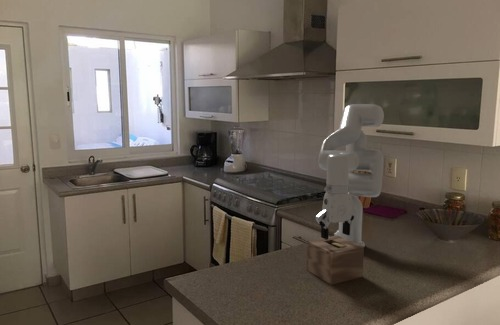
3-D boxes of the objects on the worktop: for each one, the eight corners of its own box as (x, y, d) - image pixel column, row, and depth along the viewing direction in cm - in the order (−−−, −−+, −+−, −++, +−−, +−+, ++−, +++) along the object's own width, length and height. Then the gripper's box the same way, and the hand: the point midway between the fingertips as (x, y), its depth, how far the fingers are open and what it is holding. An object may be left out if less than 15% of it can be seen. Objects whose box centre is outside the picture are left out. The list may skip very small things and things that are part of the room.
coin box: (306, 270, 153) (307, 241, 151) (336, 263, 159) (337, 235, 158) (331, 284, 141) (332, 253, 139) (362, 276, 147) (364, 246, 146)
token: (331, 260, 149) (331, 243, 149) (336, 258, 150) (335, 242, 150) (341, 263, 145) (340, 246, 145) (345, 262, 146) (344, 245, 146)
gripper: (324, 193, 138) (322, 243, 141) (363, 188, 146) (361, 235, 149) (310, 189, 145) (309, 237, 147) (348, 184, 153) (347, 229, 155)
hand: (335, 236), depth 148 cm, fingers open, 9 cm apart
